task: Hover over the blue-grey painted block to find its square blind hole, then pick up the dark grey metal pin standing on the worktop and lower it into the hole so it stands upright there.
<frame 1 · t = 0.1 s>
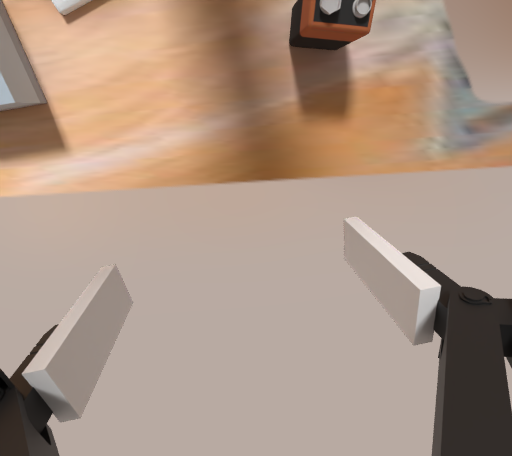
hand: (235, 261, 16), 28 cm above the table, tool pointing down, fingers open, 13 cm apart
battery: (314, 29, 35), on the table
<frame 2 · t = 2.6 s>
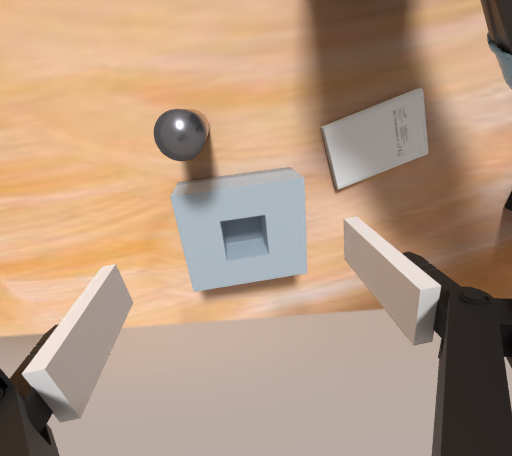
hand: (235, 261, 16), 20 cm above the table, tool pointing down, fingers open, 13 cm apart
external hard drive: (371, 140, 35), on the table
socket block: (241, 219, 36), on the table
pin: (193, 127, 31), on the table
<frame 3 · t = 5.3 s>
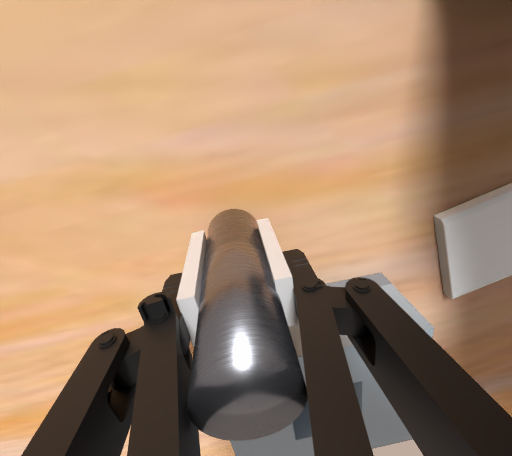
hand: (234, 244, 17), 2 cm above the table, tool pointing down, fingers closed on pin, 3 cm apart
external hard drive: (504, 223, 22), on the table
socket block: (303, 343, 24), on the table
pin: (234, 233, 19), on the table, touching gripper
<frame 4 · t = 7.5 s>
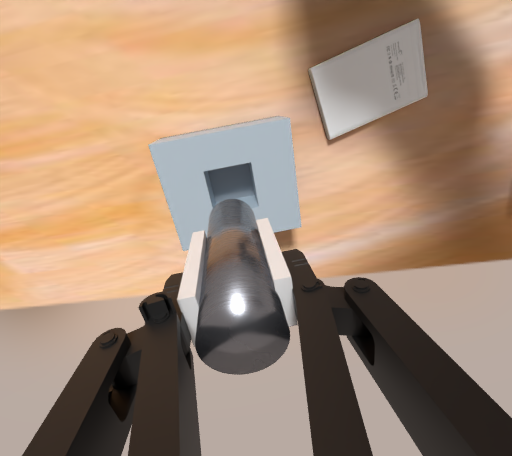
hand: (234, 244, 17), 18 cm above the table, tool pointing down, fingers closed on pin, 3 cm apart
external hard drive: (364, 84, 32), on the table
socket block: (230, 176, 34), on the table
pin: (232, 220, 21), point 14 cm above the table, touching gripper
when the fingers open (7 cm above the table, at t = 9.8 s): pin stays where it is, resting on socket block.
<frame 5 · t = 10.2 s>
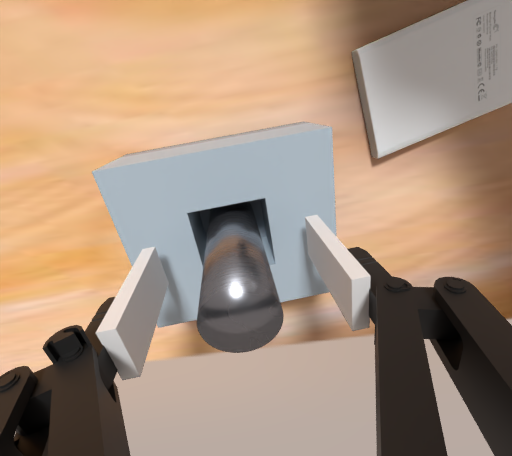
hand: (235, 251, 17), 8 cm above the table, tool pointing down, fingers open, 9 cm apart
external hard drive: (431, 77, 22), on the table
socket block: (231, 209, 23), on the table
pin: (231, 215, 22), point 2 cm above the table, touching socket block
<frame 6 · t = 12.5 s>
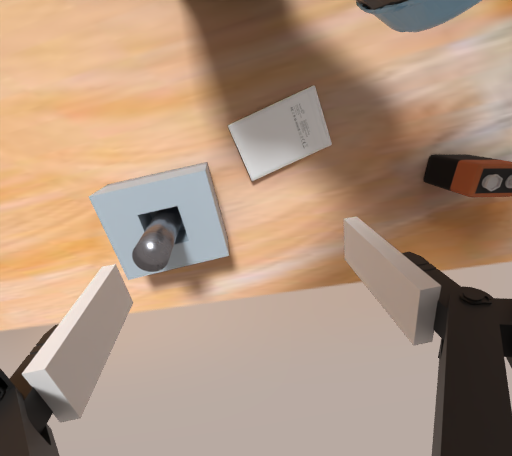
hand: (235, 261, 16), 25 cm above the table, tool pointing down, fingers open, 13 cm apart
external hard drive: (279, 135, 38), on the table
socket block: (171, 212, 40), on the table
battery: (443, 168, 43), on the table
pin: (170, 216, 39), point 1 cm above the table, touching socket block
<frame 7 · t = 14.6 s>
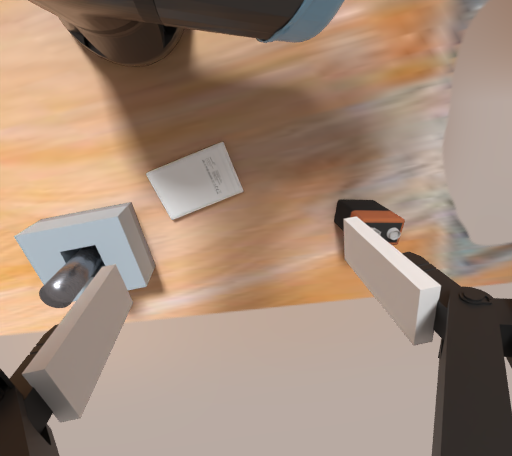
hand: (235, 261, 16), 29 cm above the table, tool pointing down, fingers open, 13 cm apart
external hard drive: (197, 180, 43), on the table
socket block: (101, 244, 45), on the table
battery: (352, 210, 48), on the table
pin: (98, 248, 43), point 1 cm above the table, touching socket block
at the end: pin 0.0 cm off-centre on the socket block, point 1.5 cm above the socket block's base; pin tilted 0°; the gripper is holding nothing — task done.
